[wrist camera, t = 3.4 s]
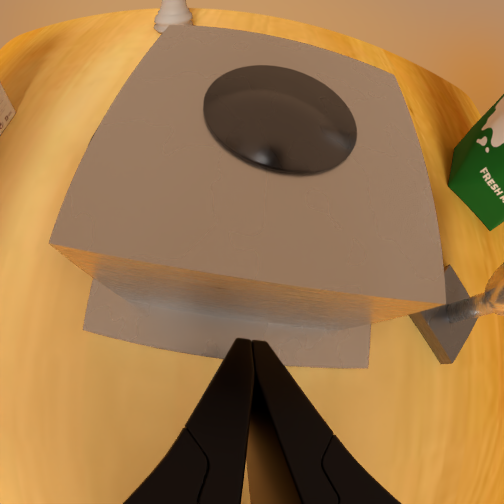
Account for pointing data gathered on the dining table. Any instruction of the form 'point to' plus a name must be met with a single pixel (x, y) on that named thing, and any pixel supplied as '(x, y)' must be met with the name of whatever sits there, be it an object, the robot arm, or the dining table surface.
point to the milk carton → (482, 167)
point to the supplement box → (5, 109)
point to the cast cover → (253, 202)
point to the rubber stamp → (458, 314)
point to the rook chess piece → (172, 15)
